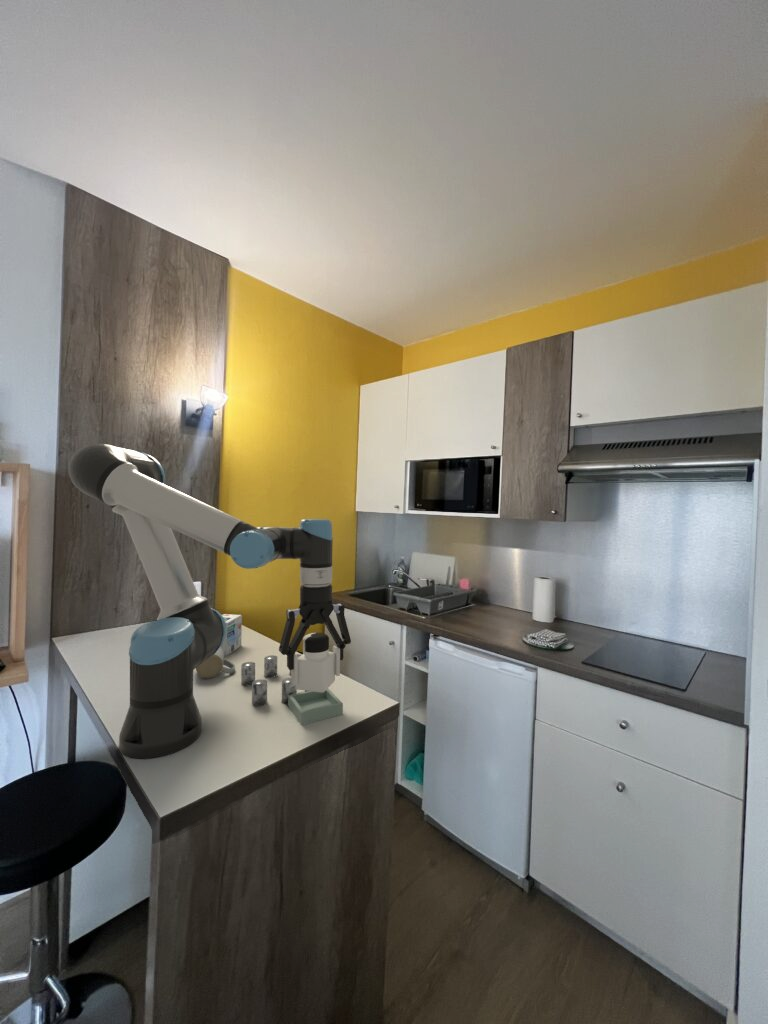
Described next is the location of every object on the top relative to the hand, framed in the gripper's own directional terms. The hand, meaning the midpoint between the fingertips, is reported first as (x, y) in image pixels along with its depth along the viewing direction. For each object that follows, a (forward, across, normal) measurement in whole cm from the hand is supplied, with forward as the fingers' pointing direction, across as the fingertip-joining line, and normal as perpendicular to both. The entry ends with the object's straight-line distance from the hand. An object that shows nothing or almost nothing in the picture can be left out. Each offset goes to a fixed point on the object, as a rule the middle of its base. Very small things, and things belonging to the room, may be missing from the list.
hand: (315, 678), depth 100 cm
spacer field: (+8, -4, +17) cm, 19 cm away
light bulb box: (+8, -12, +54) cm, 56 cm away
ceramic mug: (+8, -18, +34) cm, 40 cm away
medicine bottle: (+2, 0, 0) cm, 2 cm away
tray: (+8, 0, 0) cm, 8 cm away
